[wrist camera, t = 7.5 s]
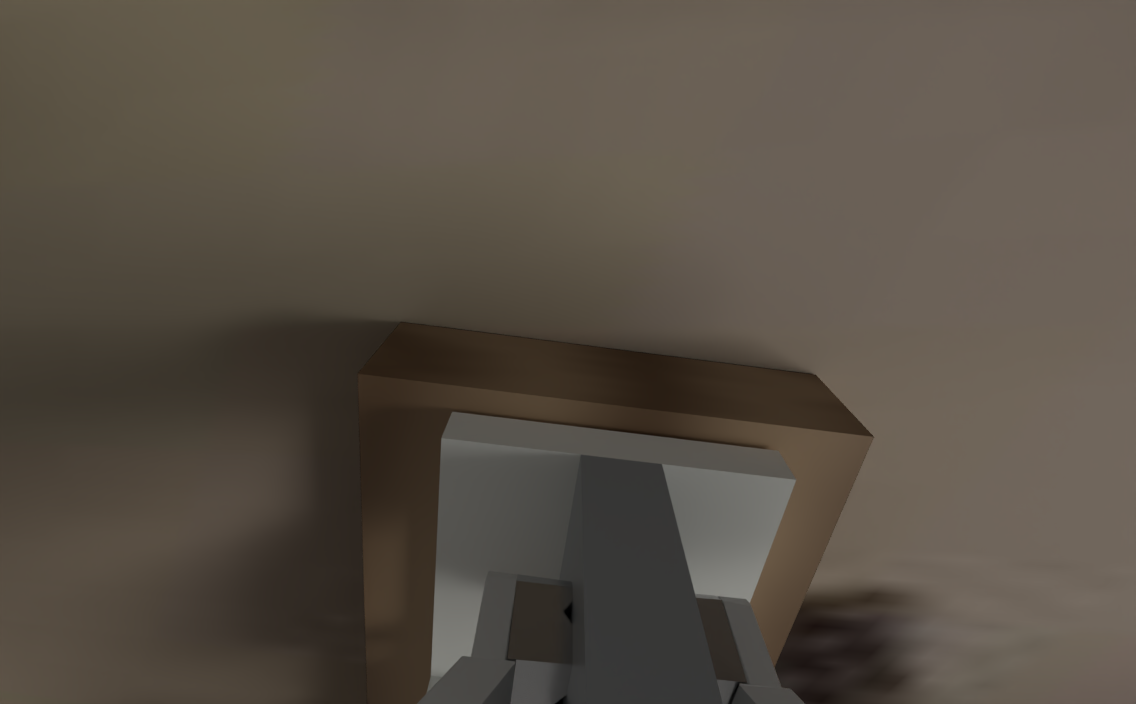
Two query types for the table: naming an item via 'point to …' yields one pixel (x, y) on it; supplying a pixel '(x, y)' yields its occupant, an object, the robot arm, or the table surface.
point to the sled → (604, 544)
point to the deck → (583, 399)
